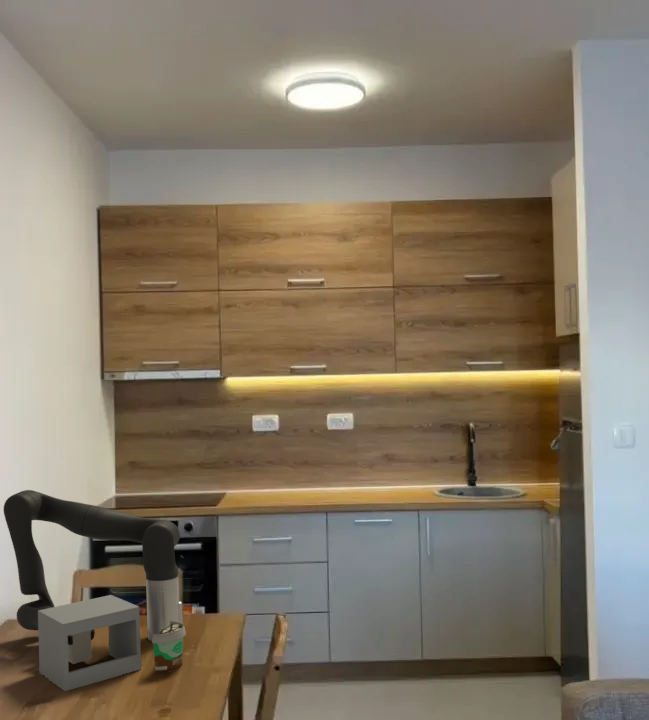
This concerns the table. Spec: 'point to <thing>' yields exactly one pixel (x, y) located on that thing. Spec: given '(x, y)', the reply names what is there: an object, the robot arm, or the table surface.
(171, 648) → the food container
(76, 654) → the cream block
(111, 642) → the open box frame
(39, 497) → the robot arm
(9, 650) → the table surface
